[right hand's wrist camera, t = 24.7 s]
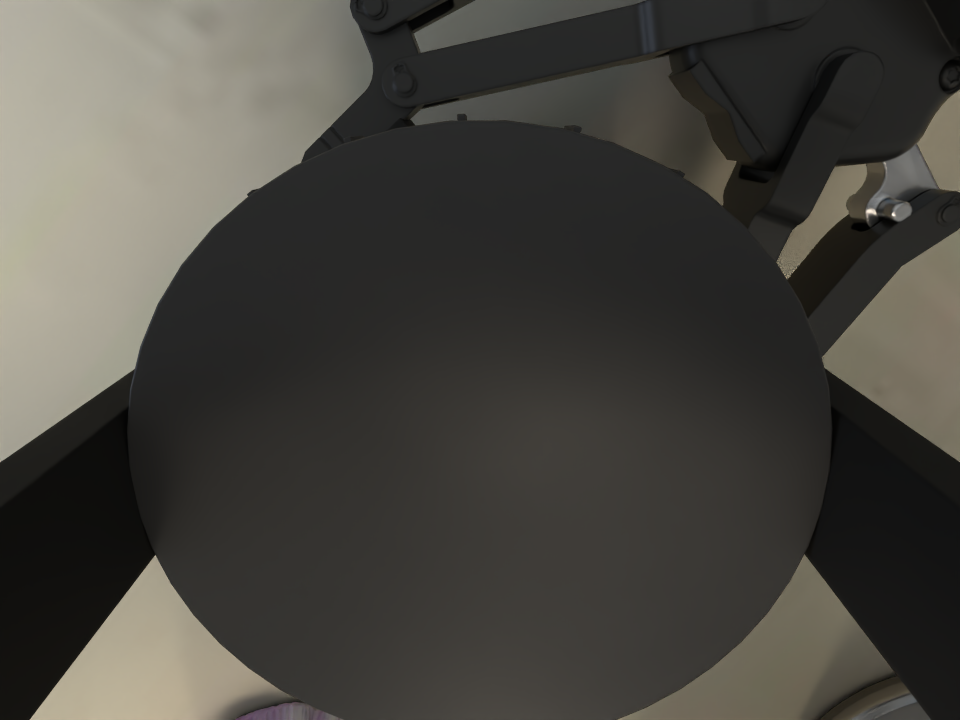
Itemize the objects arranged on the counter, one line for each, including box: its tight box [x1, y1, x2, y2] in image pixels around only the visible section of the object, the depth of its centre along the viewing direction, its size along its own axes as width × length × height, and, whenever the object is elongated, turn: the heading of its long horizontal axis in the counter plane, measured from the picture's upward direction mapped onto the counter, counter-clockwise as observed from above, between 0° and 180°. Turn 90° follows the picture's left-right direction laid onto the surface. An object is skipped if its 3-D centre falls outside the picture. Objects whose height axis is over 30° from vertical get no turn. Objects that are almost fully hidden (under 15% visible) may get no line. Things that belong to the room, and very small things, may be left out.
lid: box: [127, 114, 833, 720], centre depth 11 cm, size 11×11×2 cm
